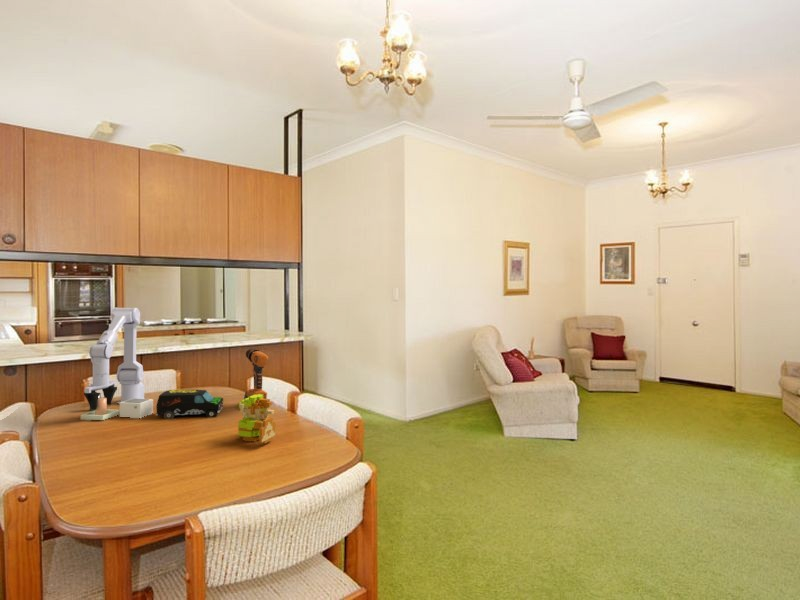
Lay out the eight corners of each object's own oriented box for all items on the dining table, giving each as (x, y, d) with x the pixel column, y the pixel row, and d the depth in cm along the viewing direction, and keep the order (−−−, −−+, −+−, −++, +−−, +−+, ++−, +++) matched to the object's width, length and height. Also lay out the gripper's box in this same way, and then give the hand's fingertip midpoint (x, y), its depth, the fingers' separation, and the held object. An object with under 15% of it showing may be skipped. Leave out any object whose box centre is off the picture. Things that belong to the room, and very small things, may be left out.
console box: (133, 412, 197) (133, 397, 197) (153, 413, 196) (153, 398, 196) (119, 417, 188) (119, 402, 188) (139, 418, 187) (139, 403, 187)
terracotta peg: (100, 414, 191) (100, 397, 191) (109, 414, 190) (109, 397, 190) (92, 416, 187) (92, 399, 187) (101, 417, 186) (101, 399, 186)
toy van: (219, 417, 192) (220, 393, 191) (154, 419, 187) (154, 394, 187) (224, 410, 202) (224, 387, 202) (162, 412, 197) (163, 389, 197)
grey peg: (94, 408, 202) (94, 392, 202) (102, 409, 202) (103, 392, 202) (87, 410, 198) (87, 394, 198) (95, 411, 198) (95, 394, 198)
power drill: (239, 400, 220) (239, 347, 220) (254, 398, 225) (255, 347, 224) (253, 410, 203) (253, 353, 202) (269, 408, 207) (270, 352, 206)
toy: (261, 448, 155) (262, 403, 154) (225, 443, 158) (225, 399, 158) (284, 434, 169) (285, 393, 169) (250, 431, 173) (251, 391, 173)
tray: (99, 413, 194) (99, 408, 194) (120, 414, 193) (120, 409, 193) (80, 419, 184) (80, 414, 184) (102, 421, 183) (102, 416, 183)
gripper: (105, 370, 196) (105, 402, 196) (77, 376, 182) (77, 411, 182) (120, 370, 195) (120, 403, 195) (94, 377, 181) (93, 412, 181)
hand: (100, 407), depth 189 cm, fingers open, 7 cm apart
